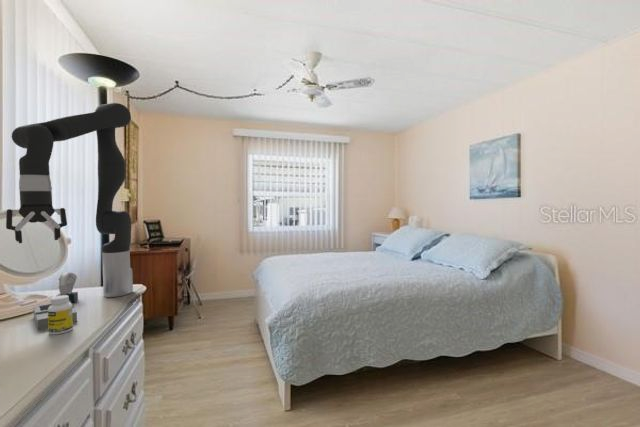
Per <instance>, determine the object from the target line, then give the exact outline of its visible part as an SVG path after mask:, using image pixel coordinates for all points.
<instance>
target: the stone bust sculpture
mask: <svg viewBox="0 0 640 427" xmlns="http://www.w3.org/2000/svg"><path fill="white" fill-rule="evenodd" d="M77 279H78V276H77V275H76V274H75V273H74V272H70V271H69V272H67V271H66V272H61V273H60V275H59V278H58V289H59V293H58V294H57V295H56V296H62V295H68V296H69V301H70V302H71V303H72V305H73V304H75V303H77V302H78V301H79V293H78V291H73V289H74V286H75V284H76V281H77ZM56 296H54V297H56Z"/></svg>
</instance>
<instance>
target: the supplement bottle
mask: <svg viewBox="0 0 640 427" xmlns="http://www.w3.org/2000/svg"><path fill="white" fill-rule="evenodd" d="M68 301H69V296H68V295H62V296H57V295H56V297H55V296H53V297H51V298H50V303H51V304H52V305H51V306H50V307H49V308H48V328H47V329H48V334H49V335H62V334H65V333H68V332H70V331H72V330H73V329H74V328H73V327H74V323H73V316H72V305H73V304H71V303H68Z"/></svg>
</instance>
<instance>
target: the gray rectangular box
mask: <svg viewBox="0 0 640 427" xmlns="http://www.w3.org/2000/svg"><path fill="white" fill-rule="evenodd" d="M68 303H71V302H70V301H68ZM71 304H72V303H71ZM51 305H52V304H51V302H50V303H45V304H41V305H40V304H39V305H33V319H34V322H35V325H36V328H37V331H41V330H45V329H48V308H49V307H50V306H51ZM77 315H78V314H77V310H76V309H75V308H74V305H73V304H72V316H73V324H74V323H77V322H78V316H77Z"/></svg>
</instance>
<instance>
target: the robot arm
mask: <svg viewBox="0 0 640 427" xmlns="http://www.w3.org/2000/svg"><path fill="white" fill-rule="evenodd" d="M94 110H95V111H93V112H87V113H81V114H74V115H69V116H63V117H59V118H55V119H51V120H47V121H44V122H38V123H32V124H26V125H25V124H24V125H21V126H18V127H16V128H14V130H13V131H12V132H11V139H12V142H13V143H14V144H15V145H16V146H18V147H20V148H23V149H26V152H25V155H23V156H21V157H20V158H19V160H18V166H19V167H18V169H19V180H18V189H19V202H20V204H19V206H20V207H19V209H11V208H9V209H6V212H5V213H6V215H5V220H6V221H5V223H6V224H5V227H6V230H10V231H14V238H15V241H16V242H18V244H23V234H22V229H23V227H24V226H25V225H27V223H28V222H29V223H32V224H33V223H34V224H35V223H46V222H48V223H49V224H50V225H52V226H53V227H54V228H53V235H54V236H53V237H54V241H59V239H60V238H61V229H62V228H63V227H66V226H68V220H67V214H66V208H64V207H59V208H54V207H53V194H52V189H53V187H52V181H51V177H50V176H51V174H50V173H51V172H50V159H51V157H52V154H53V149H54V143H55V142H63V141H68V140H72V139H73V138H77V137H81V136H84V135H86V134H90V133H94V132H95V131H96V140H97V141H96V142H97V203H96V204H97V205H96V212H95V213H96V214H95V226H96V230H97V231H98V232H99V234H101V235H114V239H113V240H111V241H109V242H107V243H104V244H103V245H102V247H101V252H102V253H101V255H102V256H101V257H102V261H101V262H102V287H103V288H102V289H103V297H105V298H115V297H116V298H117V297H122V296H126V295H128V294H131V293H132V292H134V282H133V280H134V278H133V268H132V267H131V256H130V255H131V254H130V250H131V242H132V217H131V215H130V213H129V212H128V211H126V210H113V204H114V203H113V202H114V199H115V196H116V195H117V193H118V192H119V190H120V189H121V187H122V186H123V184H124V183H125V179H126V170H127V169H126V161H125V157H124V156H123V154H122V152H121V150H120V148H119V147H118V144H117V141H116V129H118V128H124V127H126V126H128V125H129V124H130V122H131V120H132V114H131V112H130V110H129V109H128V107H127V106H125V105H124V104H122V103H118V102H111V103H105V104H104V103H103V104H99V105H98V106H97V107H96V108H95V109H94ZM54 213H56V214H57V215H58V216H59V217H60V223H58V222H56V220H55V219H53V218H52V216H53V215H54ZM17 214H19V215H20V216H21V217H22V219H21V220H20V221H19V222H18V223H17V224H16V225H13V217H17V216H16V215H17Z"/></svg>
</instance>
